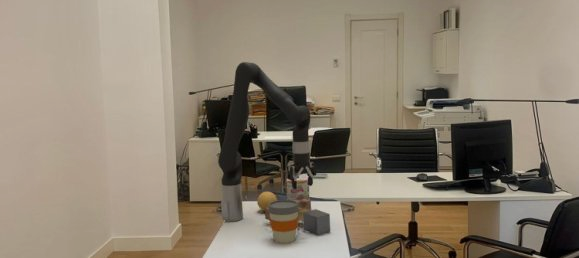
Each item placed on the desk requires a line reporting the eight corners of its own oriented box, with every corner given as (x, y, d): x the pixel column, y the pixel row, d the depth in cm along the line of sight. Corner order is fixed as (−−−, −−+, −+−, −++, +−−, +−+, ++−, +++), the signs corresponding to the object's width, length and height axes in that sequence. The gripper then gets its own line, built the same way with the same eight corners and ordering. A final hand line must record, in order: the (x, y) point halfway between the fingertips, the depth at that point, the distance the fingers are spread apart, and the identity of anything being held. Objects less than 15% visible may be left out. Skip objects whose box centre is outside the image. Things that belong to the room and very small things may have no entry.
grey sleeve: (317, 235, 196) (316, 217, 195) (303, 230, 204) (303, 212, 203) (330, 232, 200) (329, 213, 199) (316, 226, 208) (315, 209, 207)
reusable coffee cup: (265, 243, 190) (263, 207, 188) (276, 232, 202) (274, 199, 200) (294, 245, 186) (292, 209, 184) (303, 235, 197) (302, 200, 196)
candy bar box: (286, 213, 229) (285, 180, 227) (287, 210, 234) (286, 178, 232) (309, 213, 228) (308, 180, 226) (310, 210, 233) (309, 177, 231)
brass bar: (318, 227, 197) (318, 218, 197) (289, 216, 214) (289, 207, 214) (326, 225, 200) (326, 216, 199) (297, 214, 217) (296, 205, 216)
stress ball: (277, 214, 230) (283, 198, 237) (267, 203, 225) (273, 186, 231) (261, 215, 236) (267, 199, 242) (251, 204, 230) (257, 188, 236)
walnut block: (271, 226, 211) (270, 209, 210) (265, 223, 214) (264, 207, 213) (311, 215, 224) (310, 199, 223) (305, 213, 227) (305, 197, 226)
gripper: (308, 148, 213) (310, 183, 214) (283, 152, 204) (284, 188, 206) (319, 150, 206) (320, 186, 208) (293, 154, 198) (294, 191, 200)
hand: (302, 187), depth 207 cm, fingers open, 8 cm apart
